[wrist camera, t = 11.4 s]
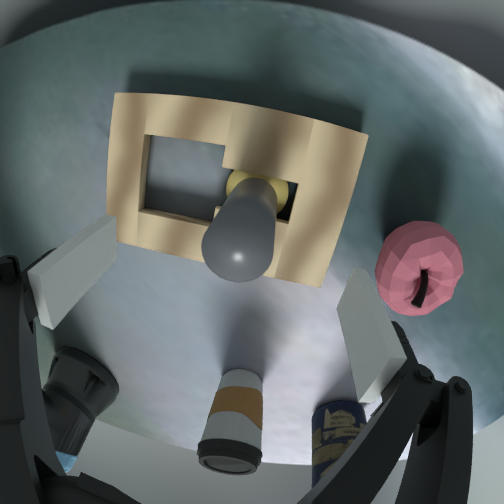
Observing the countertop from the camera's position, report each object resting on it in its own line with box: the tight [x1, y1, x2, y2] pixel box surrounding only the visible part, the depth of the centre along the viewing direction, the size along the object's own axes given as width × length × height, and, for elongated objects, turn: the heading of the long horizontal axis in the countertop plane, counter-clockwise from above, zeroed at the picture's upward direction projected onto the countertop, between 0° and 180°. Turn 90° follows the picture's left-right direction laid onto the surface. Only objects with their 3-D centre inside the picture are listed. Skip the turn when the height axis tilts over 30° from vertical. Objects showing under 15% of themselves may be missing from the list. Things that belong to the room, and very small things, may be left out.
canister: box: [312, 401, 367, 488], centre depth 36 cm, size 10×10×18 cm
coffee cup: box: [197, 369, 263, 475], centre depth 35 cm, size 8×8×15 cm
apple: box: [375, 221, 463, 316], centre depth 25 cm, size 10×9×10 cm
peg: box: [201, 170, 288, 282], centre depth 22 cm, size 6×6×14 cm
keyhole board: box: [106, 93, 369, 288], centre depth 27 cm, size 24×16×3 cm, turn 79°
